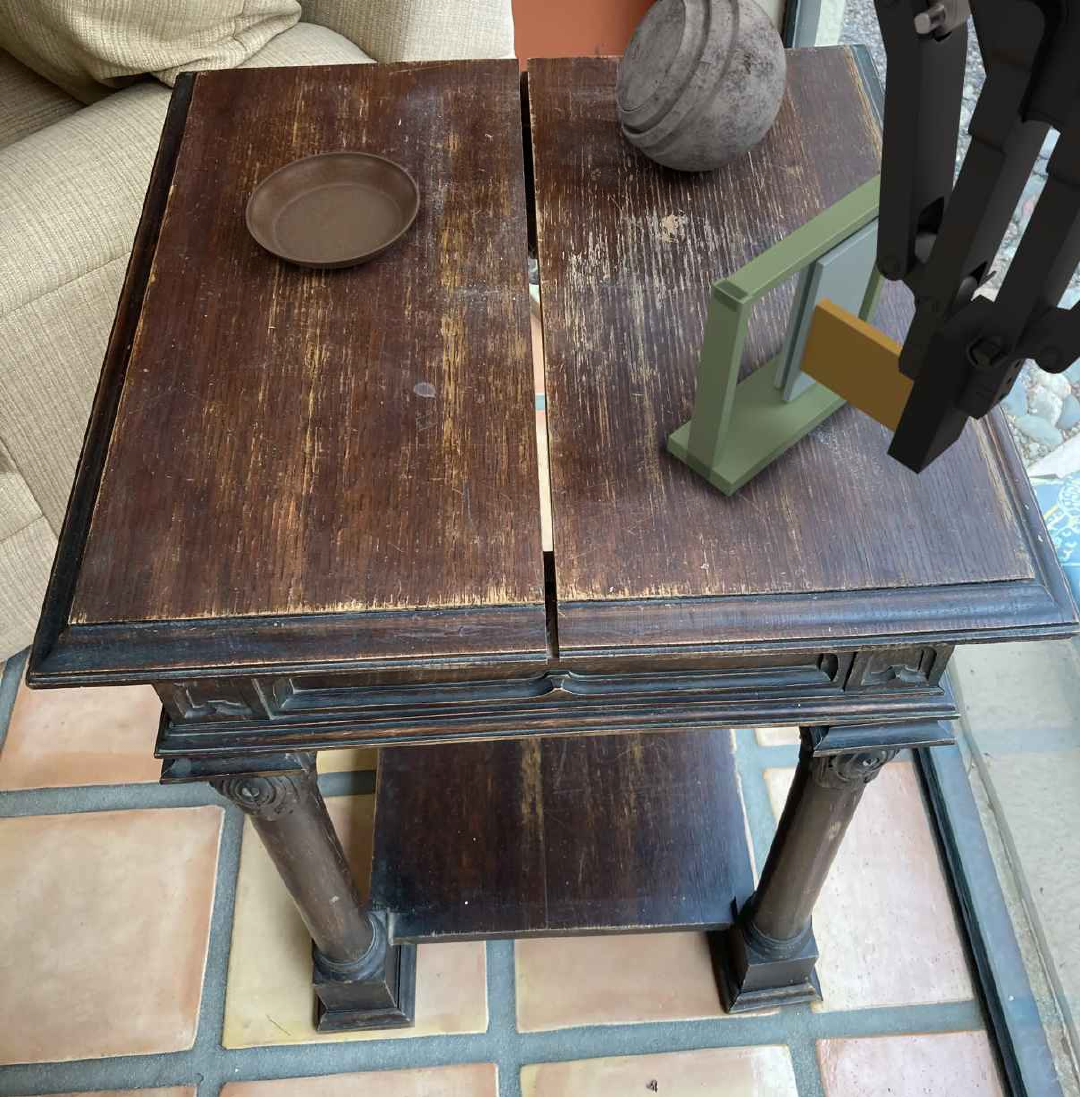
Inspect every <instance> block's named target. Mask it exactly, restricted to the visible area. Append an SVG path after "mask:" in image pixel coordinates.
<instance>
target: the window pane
mask: <svg viewBox="0 0 1080 1097" xmlns="http://www.w3.org/2000/svg"><path fill="white" fill-rule="evenodd" d="M877 233H878V218H877V219H876V220H874V221H873V222H871V223H870V224H868V225H867V226H866V227H864V228H863V229H861V230H860V231H859V232H857V233H856V234H854V235H853V236H852V237H850V238H849V239H847V240H846V241H845V242H843V243H842V244H840V245H839V246H838V247H836V248H835V249H833V250H832V251H830V252H829V253H828V254H826V255H825V256H823V257H822V258H821V259H819V260H818V261H817V262H816V266H815V270H814V274H813V278H812V282H811V286H810V290H809V294H808V298H807V302H806V306H805V310H804V314H803V318H802V322H801V326H800V330H799V334H798V338H797V342H796V346H795V350H794V354H793V358H792V362H791V366H790V370H789V374H788V378H787V382H786V386H785V390H784V394H783V398H782V399H783V400H784V401H785V402H787V403H790V402H791V401H792V400H793V399H795V398H796V397H797V396H799V395H800V394H801V393H802V392H804V391H805V390H806V389H808V388H809V387H810V386H811V385H813V384H814V383H815V382H816V381H817V382H819V383H820V384H822V385H823V386H825V387H826V388H828V389H829V390H831V391H832V392H834V393H835V394H837V395H838V396H840V397H841V398H843V399H844V400H846V401H847V402H846V403H849V404H850V405H852V406H853V407H855V408H857V409H858V410H860V411H861V412H863V413H864V414H865V415H867V416H868V417H870V418H871V419H873V420H875V421H876V422H877V423H879V424H880V425H882V426H884V427H885V428H887V429H888V430H889V431H890V432H892V433H895V431H896V428H897V426H898V423H899V421H900V418H901V415H902V413H903V410H904V408H905V405H906V403H907V400H908V397H909V395H910V392H911V390H912V387H913V385H914V381H913V380H911V379H909V378H908V377H906V376H905V375H903V374H902V373H900V372H899V366H898V358H899V355H900V353H901V350H902V348H903V344H901V343H900V342H897V341H896V340H895V339H893V338H891V337H889V336H888V335H887V334H885V333H883V332H882V331H880V330H878V329H876V328H875V327H873V326H872V325H871V326H870V325H869V324H867V323H865V322H864V321H862V320H860V319H859V318H858V315H859V311H860V308H861V305H862V301H863V298H864V295H865V292H866V288H867V285H868V282H869V279H870V275H871V272H872V269H873V265H874V262H875V259H876V252H877Z"/></svg>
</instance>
